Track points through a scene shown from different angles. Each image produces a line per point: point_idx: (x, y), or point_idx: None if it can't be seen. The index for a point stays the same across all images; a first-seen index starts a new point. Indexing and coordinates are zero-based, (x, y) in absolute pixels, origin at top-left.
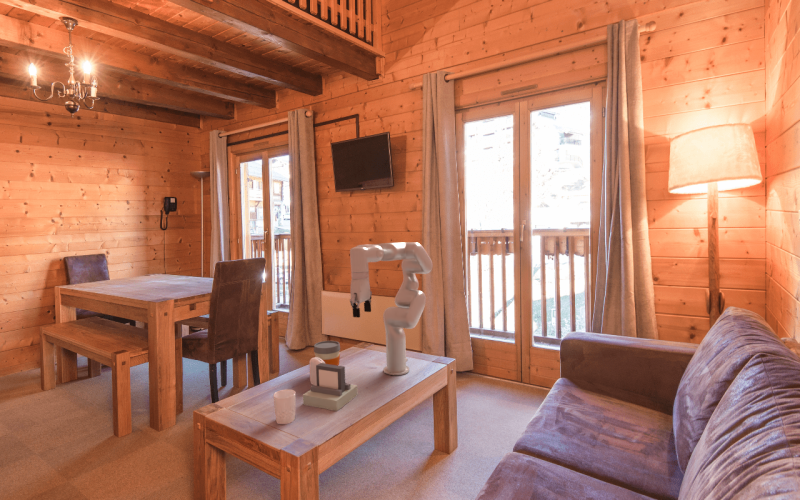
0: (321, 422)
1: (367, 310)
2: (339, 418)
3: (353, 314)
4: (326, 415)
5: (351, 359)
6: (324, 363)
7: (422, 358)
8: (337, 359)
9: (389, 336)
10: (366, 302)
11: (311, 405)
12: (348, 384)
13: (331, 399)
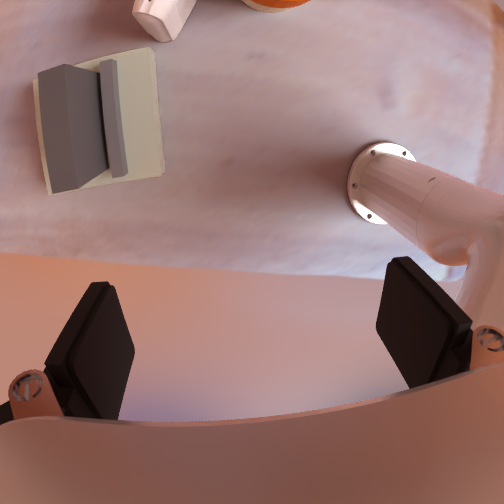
0: (12, 197)
1: (387, 308)
2: (42, 219)
3: (85, 304)
4: (34, 181)
5: (418, 5)
6: (154, 16)
7: None
8: (283, 2)
9: (433, 220)
10: (446, 371)
11: None
12: (118, 173)
13: (46, 176)
